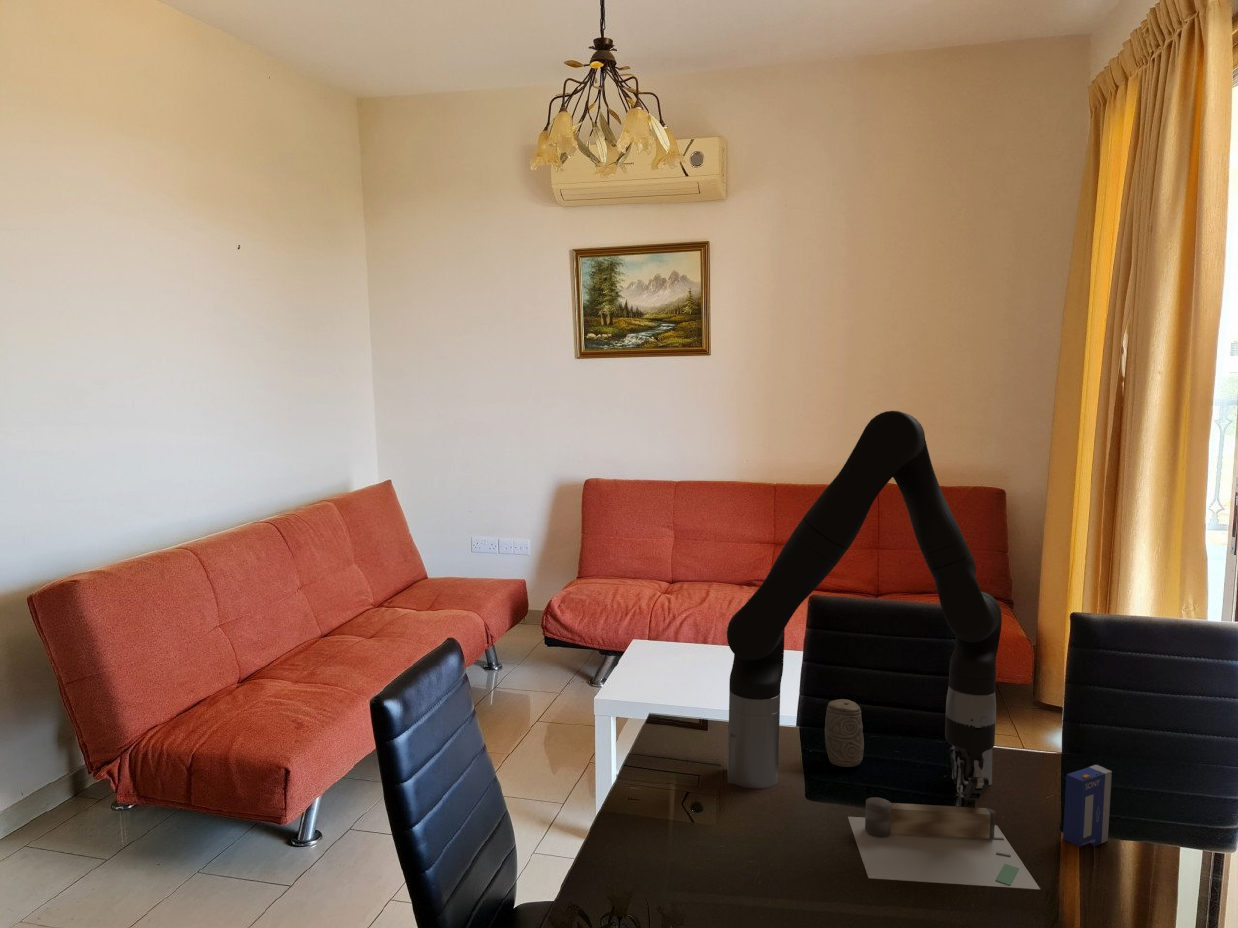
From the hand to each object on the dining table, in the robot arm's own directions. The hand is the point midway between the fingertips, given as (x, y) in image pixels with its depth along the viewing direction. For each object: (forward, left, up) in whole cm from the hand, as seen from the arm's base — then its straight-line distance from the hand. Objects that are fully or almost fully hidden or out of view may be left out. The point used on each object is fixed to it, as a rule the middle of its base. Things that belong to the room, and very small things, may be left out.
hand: (966, 816), depth 138 cm
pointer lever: (-7, -5, -1) cm, 8 cm away
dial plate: (-7, -9, -2) cm, 12 cm away
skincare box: (+6, +17, -2) cm, 18 cm away
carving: (-16, +23, -2) cm, 28 cm away
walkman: (+18, -2, -2) cm, 18 cm away
